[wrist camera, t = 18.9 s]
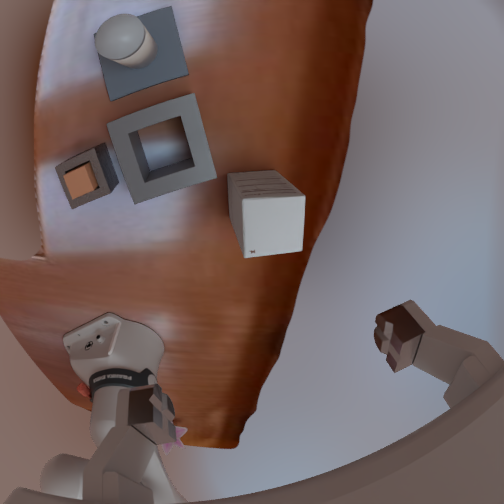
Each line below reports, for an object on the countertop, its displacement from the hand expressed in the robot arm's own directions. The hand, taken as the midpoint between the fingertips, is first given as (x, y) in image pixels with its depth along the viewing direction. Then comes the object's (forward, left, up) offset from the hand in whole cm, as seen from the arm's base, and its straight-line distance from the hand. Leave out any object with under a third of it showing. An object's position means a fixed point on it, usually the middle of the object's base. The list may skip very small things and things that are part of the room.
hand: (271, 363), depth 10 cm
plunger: (-16, +4, -34) cm, 38 cm away
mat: (-5, +18, -35) cm, 40 cm away
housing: (-5, +4, -35) cm, 35 cm away
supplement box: (+5, -7, -35) cm, 36 cm away
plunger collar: (-16, +4, -35) cm, 39 cm away
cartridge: (-5, +18, -34) cm, 39 cm away
